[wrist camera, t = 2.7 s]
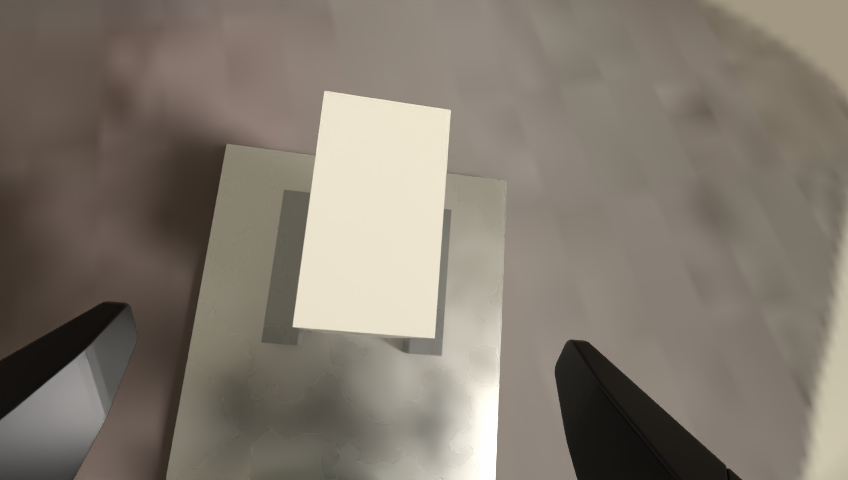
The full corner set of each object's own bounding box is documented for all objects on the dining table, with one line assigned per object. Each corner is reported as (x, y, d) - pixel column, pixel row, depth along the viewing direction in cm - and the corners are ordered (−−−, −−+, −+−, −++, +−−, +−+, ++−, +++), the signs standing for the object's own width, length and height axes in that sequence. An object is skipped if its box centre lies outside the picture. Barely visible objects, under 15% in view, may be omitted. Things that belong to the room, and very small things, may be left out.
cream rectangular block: (385, 337, 18) (435, 338, 8) (322, 332, 18) (292, 327, 8) (396, 228, 19) (450, 110, 9) (335, 221, 19) (324, 90, 9)
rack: (479, 663, 18) (505, 727, 15) (140, 670, 16) (94, 745, 13) (499, 187, 22) (523, 164, 19) (232, 153, 20) (213, 121, 17)
